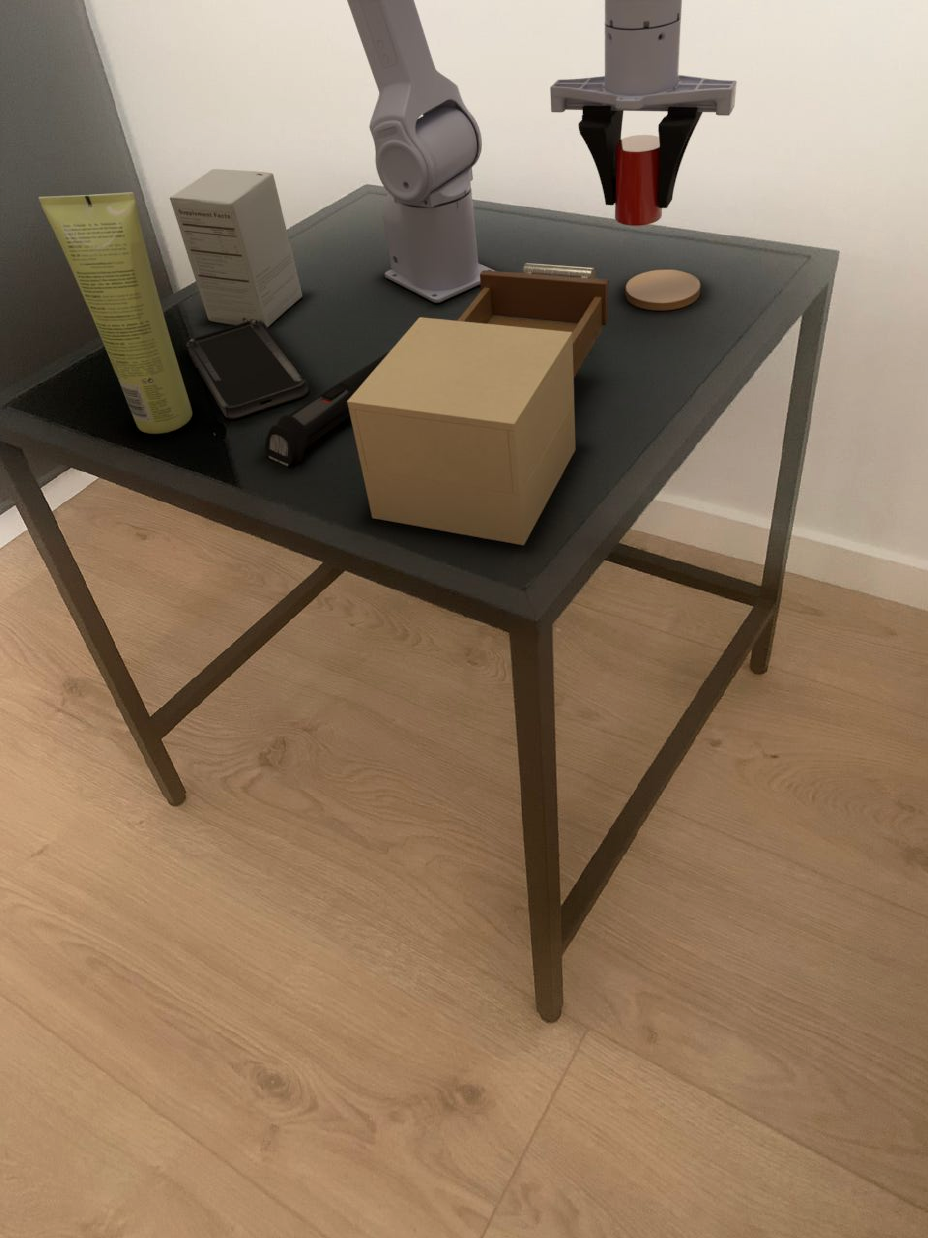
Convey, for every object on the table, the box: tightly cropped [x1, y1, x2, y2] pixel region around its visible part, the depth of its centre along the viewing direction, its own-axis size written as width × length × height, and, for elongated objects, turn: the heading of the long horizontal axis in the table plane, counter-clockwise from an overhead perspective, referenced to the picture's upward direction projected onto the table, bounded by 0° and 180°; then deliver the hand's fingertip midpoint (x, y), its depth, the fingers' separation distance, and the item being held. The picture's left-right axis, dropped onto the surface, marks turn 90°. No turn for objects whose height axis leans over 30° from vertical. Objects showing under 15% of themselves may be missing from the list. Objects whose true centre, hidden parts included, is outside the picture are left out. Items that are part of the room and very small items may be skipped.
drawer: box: [456, 262, 609, 378], centre depth 77 cm, size 16×11×4 cm
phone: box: [185, 320, 309, 420], centre depth 88 cm, size 8×1×15 cm
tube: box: [38, 191, 193, 435], centre depth 77 cm, size 6×5×20 cm
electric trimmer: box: [264, 350, 391, 467], centre depth 80 cm, size 4×16×3 cm, turn 141°
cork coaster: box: [625, 269, 701, 312], centre depth 91 cm, size 7×7×1 cm
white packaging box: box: [169, 168, 303, 329], centre depth 94 cm, size 7×7×13 cm
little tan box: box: [347, 316, 577, 546], centre depth 69 cm, size 12×12×10 cm
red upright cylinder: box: [614, 134, 663, 227], centre depth 80 cm, size 4×4×6 cm
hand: (638, 202), depth 82 cm, fingers closed on red upright cylinder, 4 cm apart
